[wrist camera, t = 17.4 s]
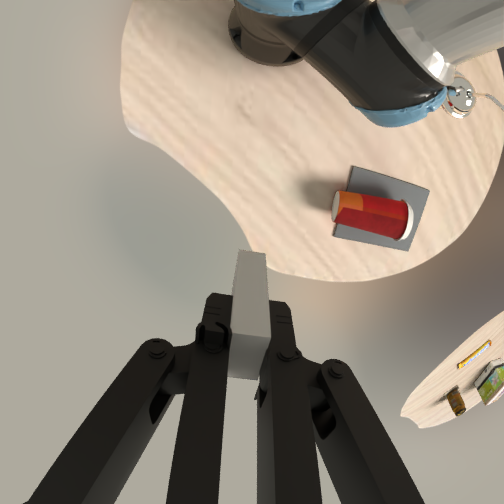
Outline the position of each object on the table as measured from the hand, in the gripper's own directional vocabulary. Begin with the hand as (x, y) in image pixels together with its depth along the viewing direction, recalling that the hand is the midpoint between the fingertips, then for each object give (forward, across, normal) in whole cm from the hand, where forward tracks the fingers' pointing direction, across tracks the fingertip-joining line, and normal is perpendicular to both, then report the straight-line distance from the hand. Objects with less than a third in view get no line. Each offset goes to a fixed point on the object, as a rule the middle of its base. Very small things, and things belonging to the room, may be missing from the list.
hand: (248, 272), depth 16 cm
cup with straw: (+35, +29, +22) cm, 51 cm away
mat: (+34, +27, -3) cm, 44 cm away
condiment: (+35, +99, -68) cm, 125 cm away
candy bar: (+35, +92, -44) cm, 108 cm away
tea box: (+35, +117, -57) cm, 135 cm away
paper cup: (+32, +15, -4) cm, 35 cm away
